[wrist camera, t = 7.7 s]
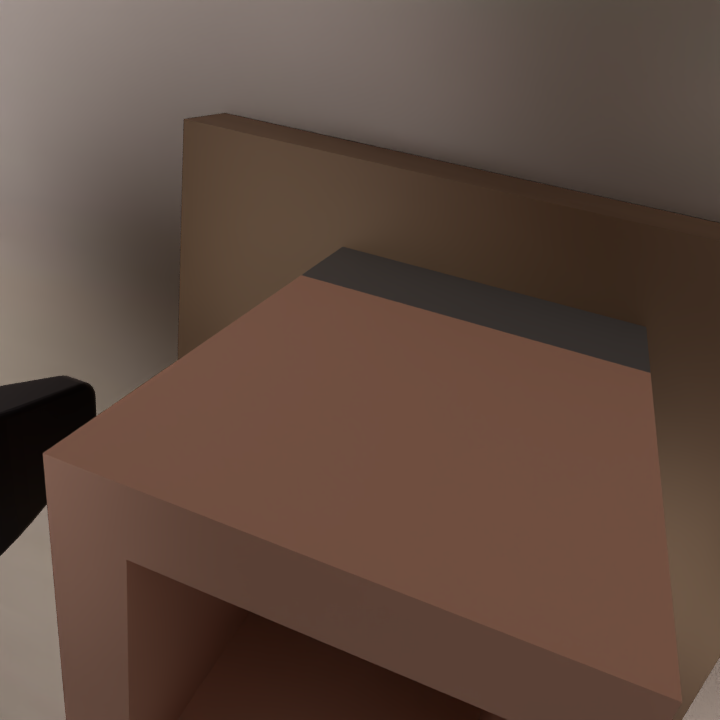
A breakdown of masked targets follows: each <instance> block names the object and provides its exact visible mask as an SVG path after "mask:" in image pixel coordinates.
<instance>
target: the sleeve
mask: <svg viewBox="0 0 720 720" xmlns="http://www.w3.org/2000/svg"><path fill="white" fill-rule="evenodd" d="M43 463H44V474H45V486H46V497H47V508H48V520H49V531H50V543H51V554H52V565H53V577H54V588H55V600H56V611H57V622H58V634H59V645H60V657H61V668H62V679H63V691H64V702H65V713H66V720H672V719H673V717H674V715H675V714H676V712H677V710H678V709H679V707H680V705H681V704H682V695H681V684H680V674H679V664H678V653H677V643H676V632H675V622H674V612H673V601H672V591H671V580H670V570H669V560H668V549H667V539H666V528H665V518H664V508H663V497H662V487H661V476H660V466H659V456H658V445H657V435H656V424H655V414H654V404H653V393H652V383H651V372H650V362H649V352H648V341H647V331H646V327H644V326H641V325H637V324H633V323H629V322H625V321H622V320H618V319H614V318H610V317H607V316H603V315H599V314H595V313H591V312H588V311H584V310H580V309H576V308H573V307H569V306H565V305H561V304H558V303H554V302H550V301H546V300H542V299H539V298H535V297H531V296H527V295H524V294H520V293H516V292H512V291H508V290H505V289H501V288H497V287H493V286H490V285H486V284H482V283H478V282H474V281H471V280H467V279H463V278H459V277H456V276H452V275H448V274H444V273H441V272H437V271H433V270H429V269H425V268H422V267H418V266H414V265H410V264H407V263H403V262H399V261H395V260H391V259H388V258H384V257H380V256H376V255H373V254H369V253H365V252H361V251H357V250H354V249H350V248H346V247H341V248H340V249H338V250H337V251H336V252H334V253H333V254H331V255H330V256H328V257H327V258H325V259H324V260H322V261H321V262H320V263H318V264H317V265H315V266H314V267H312V268H311V269H309V270H308V271H306V272H305V273H304V274H302V275H301V276H299V277H298V278H296V279H295V280H293V281H292V282H291V283H289V284H288V285H286V286H285V287H283V288H282V289H280V290H279V291H277V292H276V293H275V294H273V295H272V296H270V297H269V298H267V299H266V300H264V301H263V302H262V303H260V304H259V305H257V306H256V307H254V308H253V309H251V310H250V311H248V312H247V313H246V314H244V315H243V316H241V317H240V318H238V319H237V320H235V321H234V322H232V323H231V324H230V325H228V326H227V327H225V328H224V329H222V330H221V331H219V332H218V333H217V334H215V335H214V336H212V337H211V338H209V339H208V340H206V341H205V342H203V343H202V344H201V345H199V346H198V347H196V348H195V349H193V350H192V351H190V352H189V353H188V354H186V355H185V356H183V357H182V358H180V359H179V360H177V361H176V362H174V363H173V364H172V365H170V366H169V367H167V368H166V369H164V370H163V371H161V372H160V373H158V374H157V375H156V376H154V377H153V378H151V379H150V380H148V381H147V382H145V383H144V384H143V385H141V386H140V387H138V388H137V389H135V390H134V391H132V392H131V393H129V394H128V395H127V396H125V397H124V398H122V399H121V400H119V401H118V402H116V403H115V404H113V405H112V406H111V407H109V408H108V409H106V410H105V411H103V412H102V413H100V414H99V415H98V416H96V417H95V418H93V419H92V420H90V421H89V422H87V423H86V424H84V425H83V426H82V427H80V428H79V429H77V430H76V431H74V432H73V433H71V434H70V435H69V436H67V437H66V438H64V439H63V440H61V441H60V442H58V443H57V444H55V445H54V446H53V447H51V448H50V449H48V450H47V451H45V452H44V453H43Z"/></svg>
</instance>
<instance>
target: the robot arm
mask: <svg viewBox="0 0 720 720" xmlns="http://www.w3.org/2000/svg"><path fill="white" fill-rule="evenodd" d="M95 417H96V397H95V391H94V389H93V387H92V386H91V385H90V384H88V383H86V382H84V381H81V380H78V379H75V378H72V377H69V376H56V377H50V378H44V379H39V380H33V381H27V382H21V383H15V384H9V385H4V386H0V556H1V555H2V554H3V553H4V552H5V551H6V550H7V549H8V548H9V547H10V546H11V545H12V543H13V542H14V541H15V540H16V539H17V538H18V537H19V536H20V535H21V534H22V533H23V532H24V530H25V529H26V528H27V527H28V526H29V525H30V524H31V523H32V521H33V520H34V519H35V518H36V517H37V515H38V514H39V513H40V512H41V511H42V509H43V508H44V507H45V506H46V505H47V497H46V486H45V474H44V463H43V453H44V452H45V451H47V450H48V449H50V448H51V447H53V446H54V445H55V444H57V443H58V442H60V441H61V440H63V439H64V438H66V437H67V436H69V435H70V434H71V433H73V432H74V431H76V430H77V429H79V428H80V427H82V426H83V425H84V424H86V423H87V422H89V421H90V420H92V419H93V418H95Z"/></svg>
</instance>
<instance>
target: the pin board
mask: <svg viewBox="0 0 720 720" xmlns="http://www.w3.org/2000/svg"><path fill="white" fill-rule="evenodd" d="M341 247H346V248H350V249H354V250H357V251H361V252H365V253H369V254H373V255H376V256H380V257H384V258H388V259H391V260H395V261H399V262H403V263H407V264H410V265H414V266H418V267H422V268H425V269H429V270H433V271H437V272H441V273H444V274H448V275H452V276H456V277H459V278H463V279H467V280H471V281H474V282H478V283H482V284H486V285H490V286H493V287H497V288H501V289H505V290H508V291H512V292H516V293H520V294H524V295H527V296H531V297H535V298H539V299H542V300H546V301H550V302H554V303H558V304H561V305H565V306H569V307H573V308H576V309H580V310H584V311H588V312H591V313H595V314H599V315H603V316H607V317H610V318H614V319H618V320H622V321H625V322H629V323H633V324H637V325H641V326H644V327H646V331H647V341H648V352H649V362H650V372H651V383H652V393H653V404H654V414H655V424H656V435H657V445H658V456H659V466H660V476H661V487H662V497H663V508H664V518H665V528H666V539H667V549H668V560H669V570H670V580H671V591H672V601H673V612H674V622H675V632H676V643H677V653H678V664H679V674H680V684H681V695H682V704H681V705H680V707H679V709H678V710H677V712H676V714H675V715H674V717H673V719H672V720H682V719H683V717H684V715H685V714H686V712H687V710H688V709H689V707H690V705H691V704H692V702H693V700H694V699H695V697H696V695H697V694H698V692H699V690H700V689H701V687H702V685H703V684H704V682H705V680H706V679H707V677H708V675H709V674H710V672H711V670H712V669H713V667H714V665H715V664H716V662H717V660H718V659H719V657H720V223H717V222H713V221H708V220H704V219H699V218H695V217H690V216H686V215H681V214H677V213H672V212H668V211H663V210H659V209H654V208H650V207H645V206H641V205H636V204H632V203H627V202H623V201H618V200H614V199H609V198H605V197H600V196H596V195H591V194H587V193H582V192H578V191H573V190H569V189H564V188H560V187H555V186H551V185H546V184H542V183H537V182H533V181H528V180H524V179H519V178H515V177H510V176H506V175H501V174H497V173H492V172H488V171H483V170H479V169H474V168H470V167H465V166H461V165H456V164H452V163H447V162H443V161H438V160H434V159H429V158H425V157H420V156H416V155H411V154H407V153H402V152H398V151H393V150H389V149H384V148H380V147H375V146H371V145H366V144H362V143H357V142H353V141H348V140H344V139H339V138H335V137H330V136H326V135H321V134H317V133H312V132H308V131H303V130H299V129H294V128H290V127H285V126H281V125H276V124H272V123H267V122H263V121H258V120H254V119H249V118H245V117H240V116H236V115H231V114H227V113H222V114H215V115H208V116H201V117H194V118H187V119H184V129H183V168H182V207H181V247H180V286H179V325H178V360H179V359H180V358H182V357H183V356H185V355H186V354H188V353H189V352H190V351H192V350H193V349H195V348H196V347H198V346H199V345H201V344H202V343H203V342H205V341H206V340H208V339H209V338H211V337H212V336H214V335H215V334H217V333H218V332H219V331H221V330H222V329H224V328H225V327H227V326H228V325H230V324H231V323H232V322H234V321H235V320H237V319H238V318H240V317H241V316H243V315H244V314H246V313H247V312H248V311H250V310H251V309H253V308H254V307H256V306H257V305H259V304H260V303H262V302H263V301H264V300H266V299H267V298H269V297H270V296H272V295H273V294H275V293H276V292H277V291H279V290H280V289H282V288H283V287H285V286H286V285H288V284H289V283H291V282H292V281H293V280H295V279H296V278H298V277H299V276H301V275H302V274H304V273H305V272H306V271H308V270H309V269H311V268H312V267H314V266H315V265H317V264H318V263H320V262H321V261H322V260H324V259H325V258H327V257H328V256H330V255H331V254H333V253H334V252H336V251H337V250H338V249H340V248H341Z"/></svg>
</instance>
